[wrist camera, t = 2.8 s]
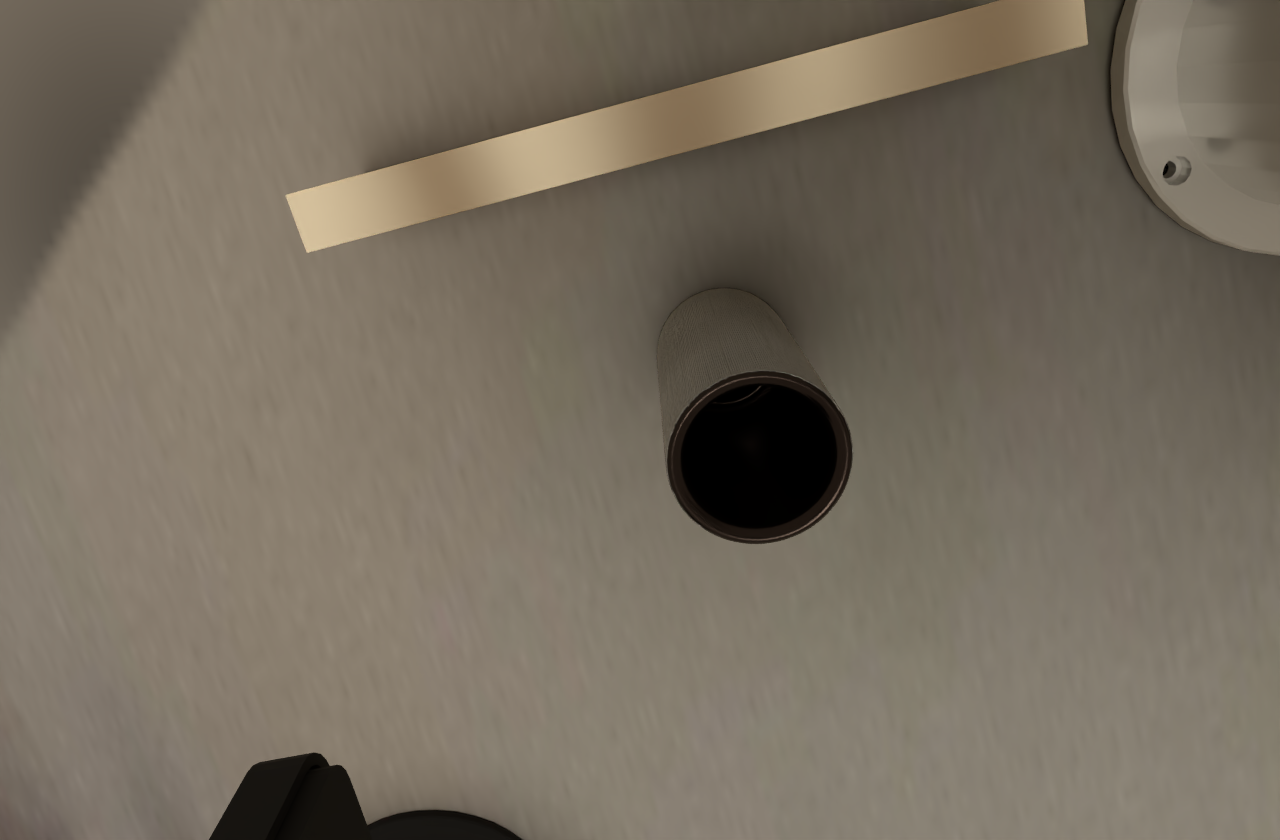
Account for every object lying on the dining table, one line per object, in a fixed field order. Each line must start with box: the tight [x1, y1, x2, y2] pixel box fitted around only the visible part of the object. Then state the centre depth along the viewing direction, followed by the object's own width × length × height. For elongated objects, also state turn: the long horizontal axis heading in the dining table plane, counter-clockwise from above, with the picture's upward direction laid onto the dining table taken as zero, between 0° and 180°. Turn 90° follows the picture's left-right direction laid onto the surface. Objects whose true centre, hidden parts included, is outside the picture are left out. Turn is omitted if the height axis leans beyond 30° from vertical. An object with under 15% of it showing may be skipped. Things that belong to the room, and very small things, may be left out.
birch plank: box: [286, 0, 1088, 253], centre depth 26 cm, size 20×2×7 cm, turn 104°
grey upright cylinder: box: [657, 288, 853, 544], centre depth 27 cm, size 4×4×10 cm
